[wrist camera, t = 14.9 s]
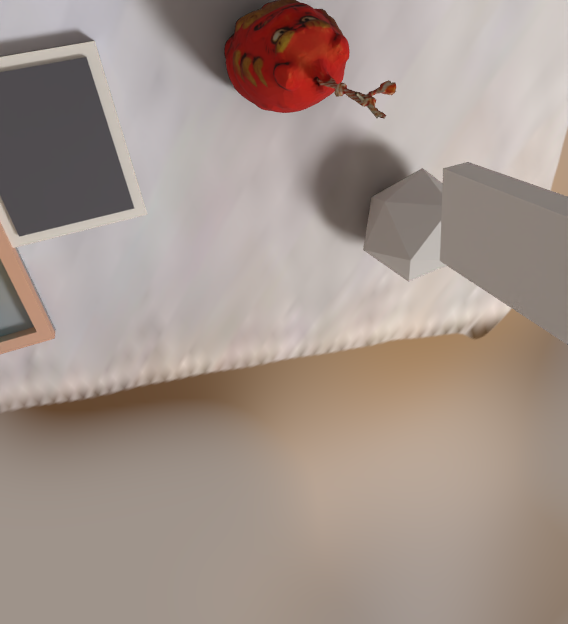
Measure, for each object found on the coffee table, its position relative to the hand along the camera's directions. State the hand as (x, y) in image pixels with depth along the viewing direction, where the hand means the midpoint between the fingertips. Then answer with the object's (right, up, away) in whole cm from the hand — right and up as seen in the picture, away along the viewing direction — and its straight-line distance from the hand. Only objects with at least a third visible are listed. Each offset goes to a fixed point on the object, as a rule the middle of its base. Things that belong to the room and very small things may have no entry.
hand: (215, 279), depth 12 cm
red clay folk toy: (+1, +18, +25) cm, 31 cm away
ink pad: (-15, +11, +23) cm, 29 cm away
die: (+12, +9, +35) cm, 38 cm away
